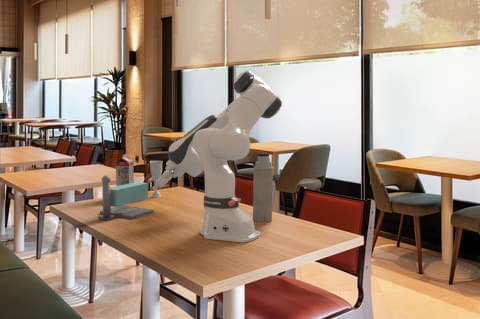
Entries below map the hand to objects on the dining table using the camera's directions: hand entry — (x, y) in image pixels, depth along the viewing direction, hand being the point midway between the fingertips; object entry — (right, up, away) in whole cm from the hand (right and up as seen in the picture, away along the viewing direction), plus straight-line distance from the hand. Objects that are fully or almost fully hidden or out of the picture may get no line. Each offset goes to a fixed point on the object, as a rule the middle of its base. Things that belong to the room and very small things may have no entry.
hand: (153, 189), depth 211 cm
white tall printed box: (-19, -6, +27) cm, 34 cm away
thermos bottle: (+47, -12, -12) cm, 50 cm away
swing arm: (-12, -9, -5) cm, 16 cm away
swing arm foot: (-17, -11, -14) cm, 25 cm away
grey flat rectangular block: (-11, -10, -4) cm, 15 cm away
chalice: (-4, -6, +33) cm, 33 cm away
